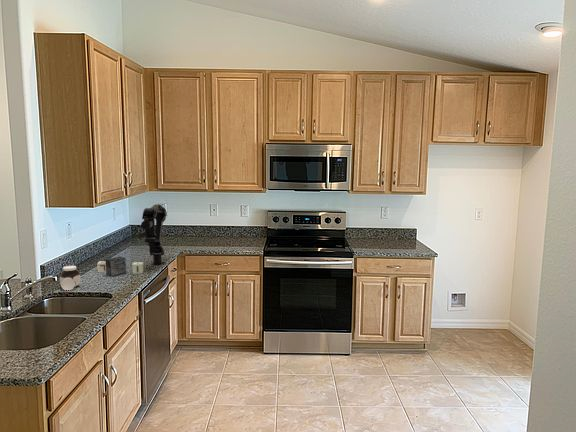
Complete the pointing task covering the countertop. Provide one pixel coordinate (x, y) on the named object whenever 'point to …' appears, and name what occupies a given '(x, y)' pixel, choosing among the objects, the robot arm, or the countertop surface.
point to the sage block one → (137, 267)
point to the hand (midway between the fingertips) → (151, 250)
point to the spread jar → (70, 278)
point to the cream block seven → (101, 266)
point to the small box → (115, 266)
